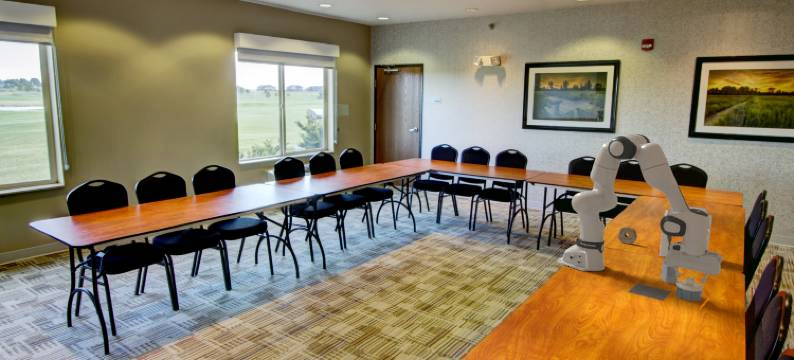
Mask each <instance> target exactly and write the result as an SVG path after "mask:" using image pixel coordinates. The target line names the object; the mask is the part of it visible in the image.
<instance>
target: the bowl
mask: <svg viewBox="0 0 794 360" xmlns="http://www.w3.org/2000/svg"><path fill="white" fill-rule="evenodd" d="M675 296H676V297H677V298H679V299H680V300H685V301H688V302H700V301H701V300H702V297H703V291H699V292H694V291H687V290H683V289H681V288H678V287H677V286H676V292H675Z"/></svg>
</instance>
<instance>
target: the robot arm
mask: <svg viewBox="0 0 794 360" xmlns="http://www.w3.org/2000/svg"><path fill="white" fill-rule="evenodd" d="M632 159H634V160H636V161H637V162H638V165H639V167H640V171H641V173H642V176H643V178H644V181H645V182H646V183H647V185H648V186H650V187H652V188H654V189H656V190H659V191H660V192H661V193H663V194H664V195H665V196H666V199H667V202H668V203H669V206H670V209H671V208H672V210H673V213H672V214H670V215H667V216H665V215H664V216H665V217H664V216H663V217H662V218H661V220H660V222H659V228H660V230H661V233H662V232H663V233H664V234H666V235H668V236H671V237H672V238H673V237H674V238H675V237H676V238H677V237H678V238H679V237H681V238H682V241H681V240H680V241H674V242H671V245H670V250H669V251H668V252H667V255H666V257H665V259H664V260H665V263H666V264H667V265H671V266H674V270H675V272H676V277H677V278H681V276H682V275H681V274H682V273H681V272H680V271H679V268H680V269H681V268H682V269H685V270H688V271H695V272H699V273H704V277H701V278H700V283H702V284H706V282H707V279H708V278H709V276H710V275H714V276H718V275H719V274H720V273H721V267H722V266H721V264H722V262H723V256H722V254H721V253H719V252H718V251H712V250H709V249H708V250H706V249H707V235H708V232H709V216H708V215H709V213H708V212H707V213H705V212H704V211H701V210H698V209H689V207H688V206H689V205H688V204H687V201H686V199H685V196H684V194H683V192H682V189H681V187H680V186H679V184H678V182H677V180H676V178H675V176H674V174H673V172H672V168H671V166H670V165H669V161H668V158H667V157H666V154H665V152H664V150H663V148H662V147H661V145H659V144H658V143H655V142H651V140H650V139H649V138H648V137H647V136H646V135H644V134H641V133H640V134H638V133H636V134H626V135H619V136H616V137H614V138H612V139H611V140H610V141H609V142H605V143H603V144H602V145H601V146H600V148H599V150H598V152H597V154H596V157H595V159H594V163H593V166H592V170H591V171H590V180H591V181H592V182H593V188H592V190H585V191H581V192H577V193H576V194H575V195H573V196H572V198H571V199H572V200H571V206H572V209H573V210H574V211H575V212H576V213H577V214H578V216H579V217H578V218H579V222H580V231H579V233H580V234H579V236H578V237H576V239H575V240H574V243H575V244H574V245H572V246H570V247H569V248H567V249H565V250H564V252H563V255H562V257H560V258H558V259H557V263H558V264H560V265H563V266H565V267H568V266H569V267H570V268H572V269H575V270H579V271H582V272H587V271H588V272H589V271H591V272H600V271H603V270H605V269H606V268H605V262H604V251H605V240H604V239H605V230H606V229H605V228H606V226H605V223H604V222H603V221H601V220H600V213H603V212H608V211H610V210H612V209H614V208H616V207H617V205H618V196H617V194H616V193H615V189H614V187H615V186H614V185H615V180H616V177H617V174H618V170H619V168H620V164H621V162H622V161H625V160H632ZM569 267H568V268H569Z"/></svg>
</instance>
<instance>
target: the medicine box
mask: <svg viewBox="0 0 794 360" xmlns="http://www.w3.org/2000/svg"><path fill="white" fill-rule="evenodd" d="M661 265H662V266H661V273H660V274H661V275H660V279H661V280H662V281H664V283H665V284H671V285H672V284H673V285H676V282H677V281H678V279H677V278H678V277H676V272H675V270H674V266H671V265H667V264H666V263H665V261H662V263H661Z"/></svg>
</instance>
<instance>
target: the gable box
mask: <svg viewBox="0 0 794 360" xmlns="http://www.w3.org/2000/svg"><path fill="white" fill-rule="evenodd" d="M688 207H689V209H698V210H701V211H704V212H705V213H707V214H708V212H707V211H708V210H707V208H706V207H698V206H691V205H688ZM670 214H673V210H672V208H671V207H670V209H665V211H664V216H663V217H665V216H667V215H670ZM708 216H709V232H708V235H707V249H706V250H708V251H709V246H710V245H709V244H710V237H711V229H712V228H711V227H712V221H713V219H712V218H713V217H712V216H713V215H712V214H708ZM672 239H673V236H668V235H666V234H664V233H663V232H662V231H661V236H660V247H659V248H660V249H659V257H661V258H662V257H663V258H666V255H667V252H668V251H669V250H670V245H671V244H672Z"/></svg>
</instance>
